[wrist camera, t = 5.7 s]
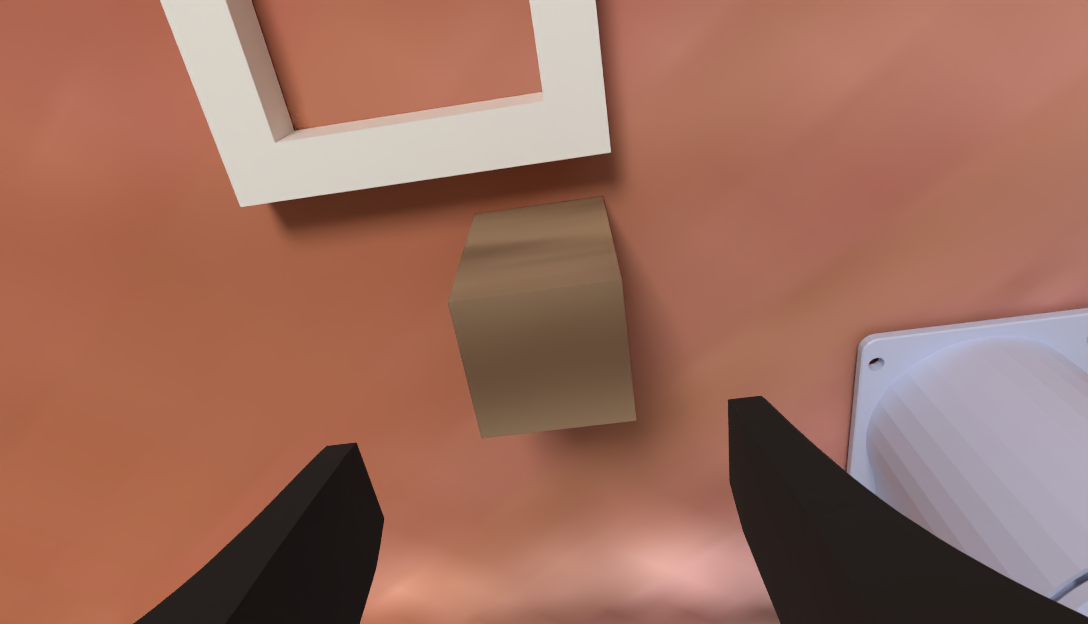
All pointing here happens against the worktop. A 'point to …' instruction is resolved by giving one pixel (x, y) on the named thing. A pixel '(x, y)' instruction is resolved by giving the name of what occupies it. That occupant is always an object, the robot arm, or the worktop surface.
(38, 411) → the worktop surface
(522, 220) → the brown block
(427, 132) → the white square frame
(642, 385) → the worktop surface
